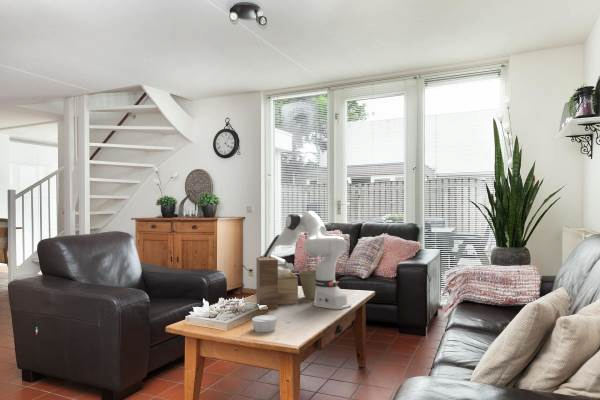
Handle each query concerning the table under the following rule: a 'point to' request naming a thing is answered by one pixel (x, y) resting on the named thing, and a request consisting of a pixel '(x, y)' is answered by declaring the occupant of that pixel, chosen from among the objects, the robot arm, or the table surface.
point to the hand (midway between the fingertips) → (279, 263)
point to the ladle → (283, 272)
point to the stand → (274, 284)
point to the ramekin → (264, 323)
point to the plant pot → (308, 283)
